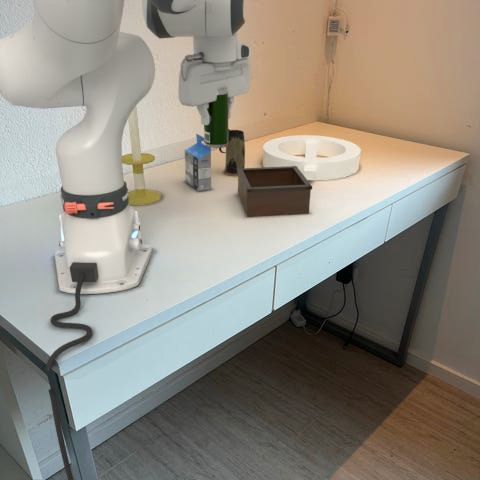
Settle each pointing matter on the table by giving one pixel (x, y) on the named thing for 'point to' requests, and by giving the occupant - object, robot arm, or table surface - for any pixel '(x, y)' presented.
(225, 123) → the beer can
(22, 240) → the table surface
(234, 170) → the mug
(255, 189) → the brown open box
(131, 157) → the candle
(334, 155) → the white circle with bar
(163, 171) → the table surface
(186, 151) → the label tape box
